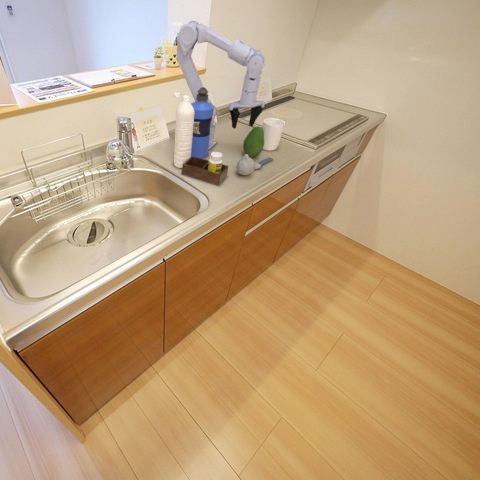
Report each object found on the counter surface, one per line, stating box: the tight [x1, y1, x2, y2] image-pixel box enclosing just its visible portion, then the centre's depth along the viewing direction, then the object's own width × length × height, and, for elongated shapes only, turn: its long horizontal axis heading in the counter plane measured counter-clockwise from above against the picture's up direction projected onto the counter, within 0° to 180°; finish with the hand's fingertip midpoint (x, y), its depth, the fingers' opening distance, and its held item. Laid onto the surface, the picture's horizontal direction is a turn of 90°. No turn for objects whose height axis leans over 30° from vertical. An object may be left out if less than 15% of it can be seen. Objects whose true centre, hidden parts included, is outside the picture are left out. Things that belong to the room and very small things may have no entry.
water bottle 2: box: [190, 86, 215, 159], centre depth 106 cm, size 9×9×25 cm
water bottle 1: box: [172, 91, 195, 169], centre depth 100 cm, size 9×6×25 cm
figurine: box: [235, 153, 256, 176], centre depth 100 cm, size 6×7×8 cm
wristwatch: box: [236, 157, 274, 175], centre depth 106 cm, size 4×20×1 cm, turn 127°
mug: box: [261, 117, 286, 152], centre depth 117 cm, size 9×12×11 cm
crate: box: [181, 156, 229, 186], centre depth 101 cm, size 15×8×4 cm, turn 58°
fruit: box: [242, 126, 264, 158], centre depth 109 cm, size 8×8×12 cm
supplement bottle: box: [208, 151, 223, 174], centre depth 98 cm, size 5×5×8 cm
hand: (242, 126), depth 112 cm, fingers open, 7 cm apart
